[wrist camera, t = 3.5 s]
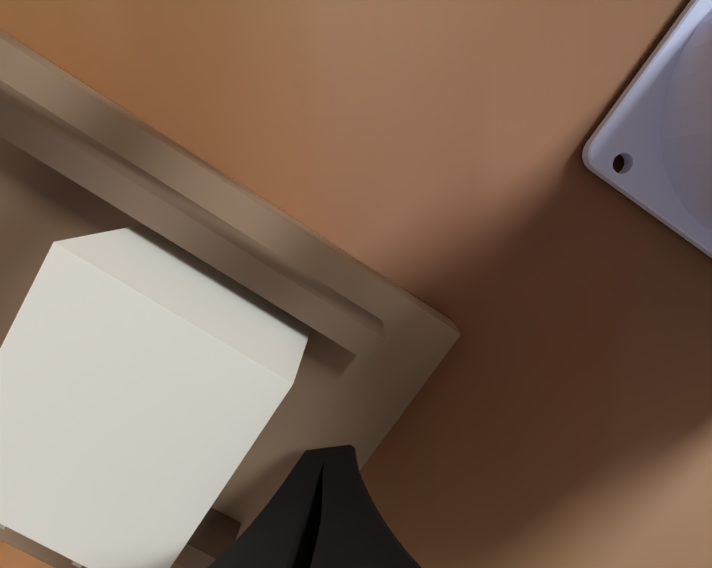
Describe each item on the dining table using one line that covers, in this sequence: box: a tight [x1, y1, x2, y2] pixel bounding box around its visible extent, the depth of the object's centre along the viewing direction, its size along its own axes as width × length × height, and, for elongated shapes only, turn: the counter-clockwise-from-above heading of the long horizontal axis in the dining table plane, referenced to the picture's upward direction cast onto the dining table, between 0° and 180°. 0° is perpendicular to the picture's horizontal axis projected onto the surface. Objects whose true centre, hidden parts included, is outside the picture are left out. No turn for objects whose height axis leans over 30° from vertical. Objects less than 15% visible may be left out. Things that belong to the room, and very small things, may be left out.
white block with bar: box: [0, 225, 312, 568], centre depth 11 cm, size 5×10×4 cm, turn 147°
